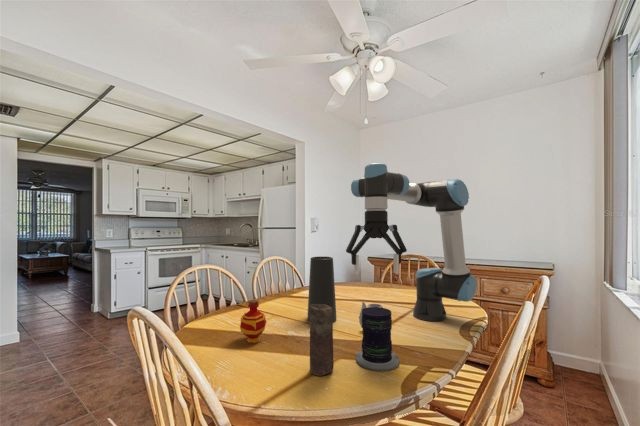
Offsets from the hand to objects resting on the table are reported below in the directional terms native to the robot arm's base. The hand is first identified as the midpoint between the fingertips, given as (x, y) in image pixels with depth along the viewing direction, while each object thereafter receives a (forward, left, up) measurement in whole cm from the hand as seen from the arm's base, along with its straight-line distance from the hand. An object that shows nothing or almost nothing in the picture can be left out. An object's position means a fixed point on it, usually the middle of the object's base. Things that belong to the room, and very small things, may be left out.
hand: (376, 274), depth 102 cm
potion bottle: (+42, -24, -29) cm, 56 cm away
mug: (-7, -29, -29) cm, 41 cm away
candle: (+19, +4, -29) cm, 35 cm away
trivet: (0, 0, -28) cm, 28 cm away
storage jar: (0, 0, -27) cm, 27 cm away
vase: (+12, -45, -29) cm, 55 cm away
